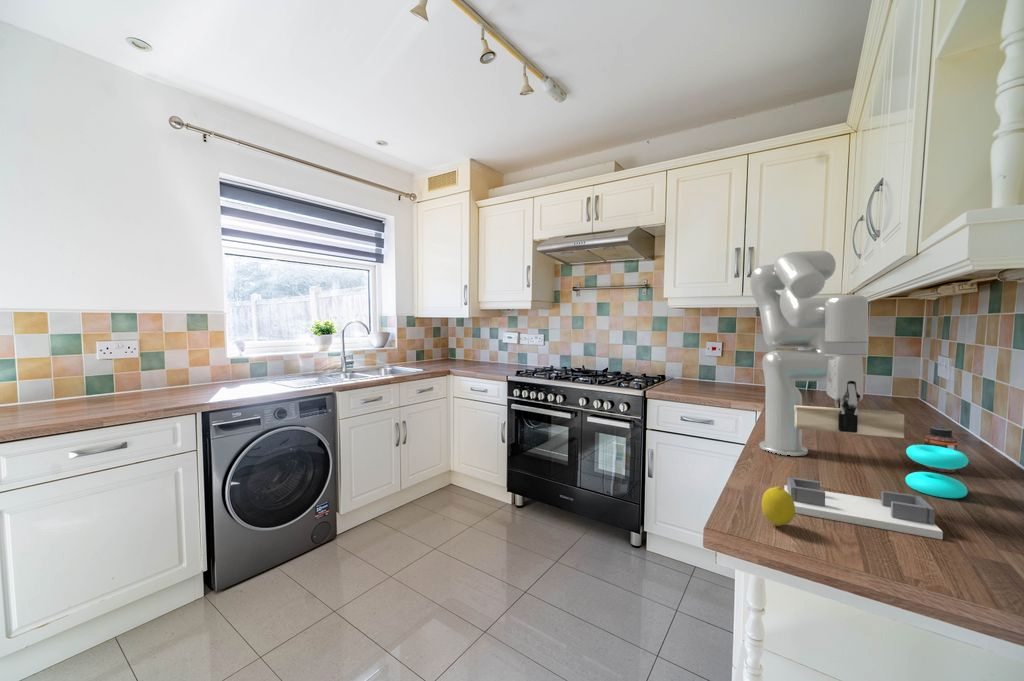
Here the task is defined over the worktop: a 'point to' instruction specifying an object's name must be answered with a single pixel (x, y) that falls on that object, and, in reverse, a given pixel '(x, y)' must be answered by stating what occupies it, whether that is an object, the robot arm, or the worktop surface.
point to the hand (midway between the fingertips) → (845, 428)
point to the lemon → (778, 506)
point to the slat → (867, 421)
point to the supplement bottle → (941, 443)
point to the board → (864, 514)
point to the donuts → (933, 481)
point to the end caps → (899, 502)
